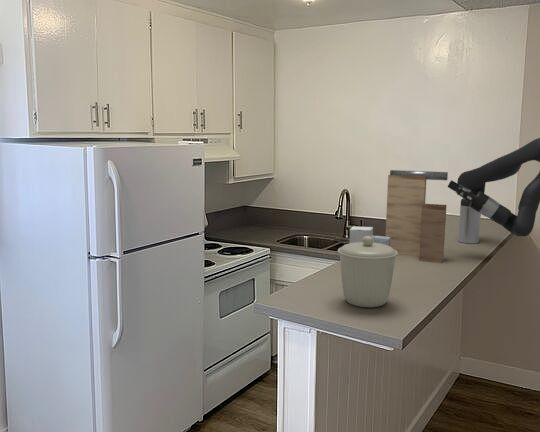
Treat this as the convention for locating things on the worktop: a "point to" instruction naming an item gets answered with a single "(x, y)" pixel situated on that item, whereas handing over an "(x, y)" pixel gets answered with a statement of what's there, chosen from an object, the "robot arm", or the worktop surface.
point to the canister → (367, 272)
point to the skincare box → (360, 233)
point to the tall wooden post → (432, 232)
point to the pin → (422, 174)
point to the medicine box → (382, 240)
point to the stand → (405, 212)
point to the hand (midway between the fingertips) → (449, 183)
